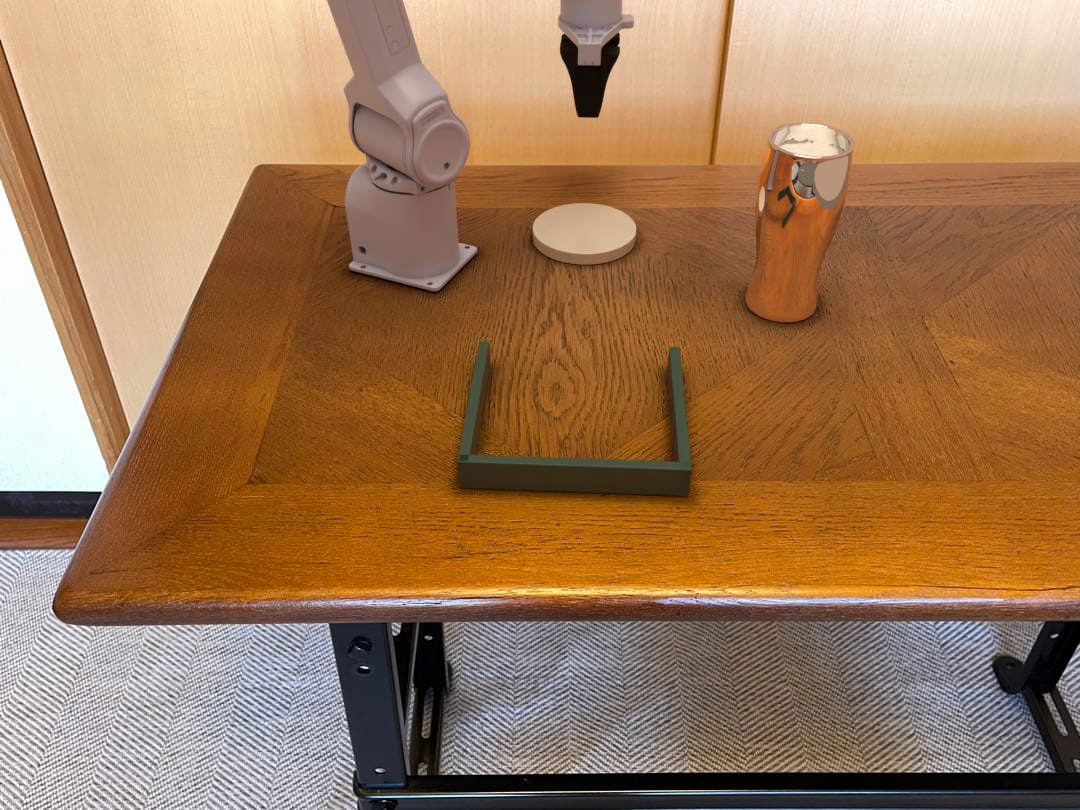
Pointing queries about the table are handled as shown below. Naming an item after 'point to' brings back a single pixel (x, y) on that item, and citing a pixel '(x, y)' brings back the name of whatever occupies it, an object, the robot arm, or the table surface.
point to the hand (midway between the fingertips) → (588, 113)
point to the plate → (584, 233)
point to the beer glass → (797, 216)
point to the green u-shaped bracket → (575, 470)
